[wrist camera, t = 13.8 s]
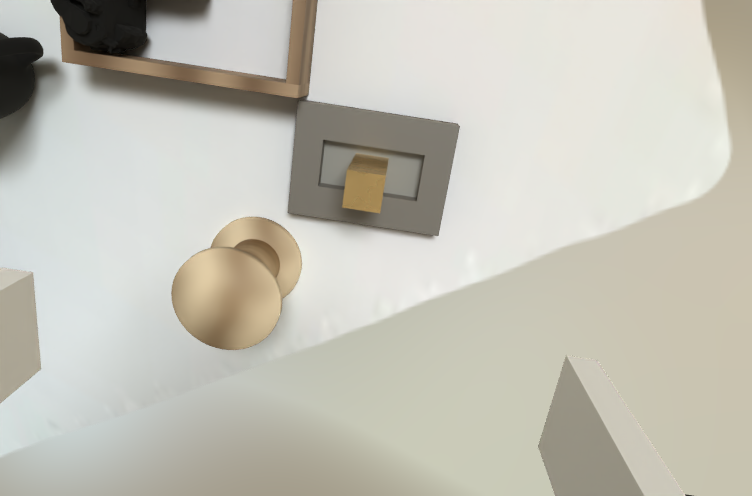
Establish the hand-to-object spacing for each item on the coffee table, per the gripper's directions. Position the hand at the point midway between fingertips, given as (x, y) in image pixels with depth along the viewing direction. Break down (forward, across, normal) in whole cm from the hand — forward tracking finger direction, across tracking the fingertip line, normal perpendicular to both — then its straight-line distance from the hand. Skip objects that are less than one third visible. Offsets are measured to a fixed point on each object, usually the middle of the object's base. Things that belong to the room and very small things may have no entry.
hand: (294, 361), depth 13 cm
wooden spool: (+37, -10, -13) cm, 40 cm away
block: (+36, 0, -2) cm, 36 cm away
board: (+37, 0, -2) cm, 37 cm away
